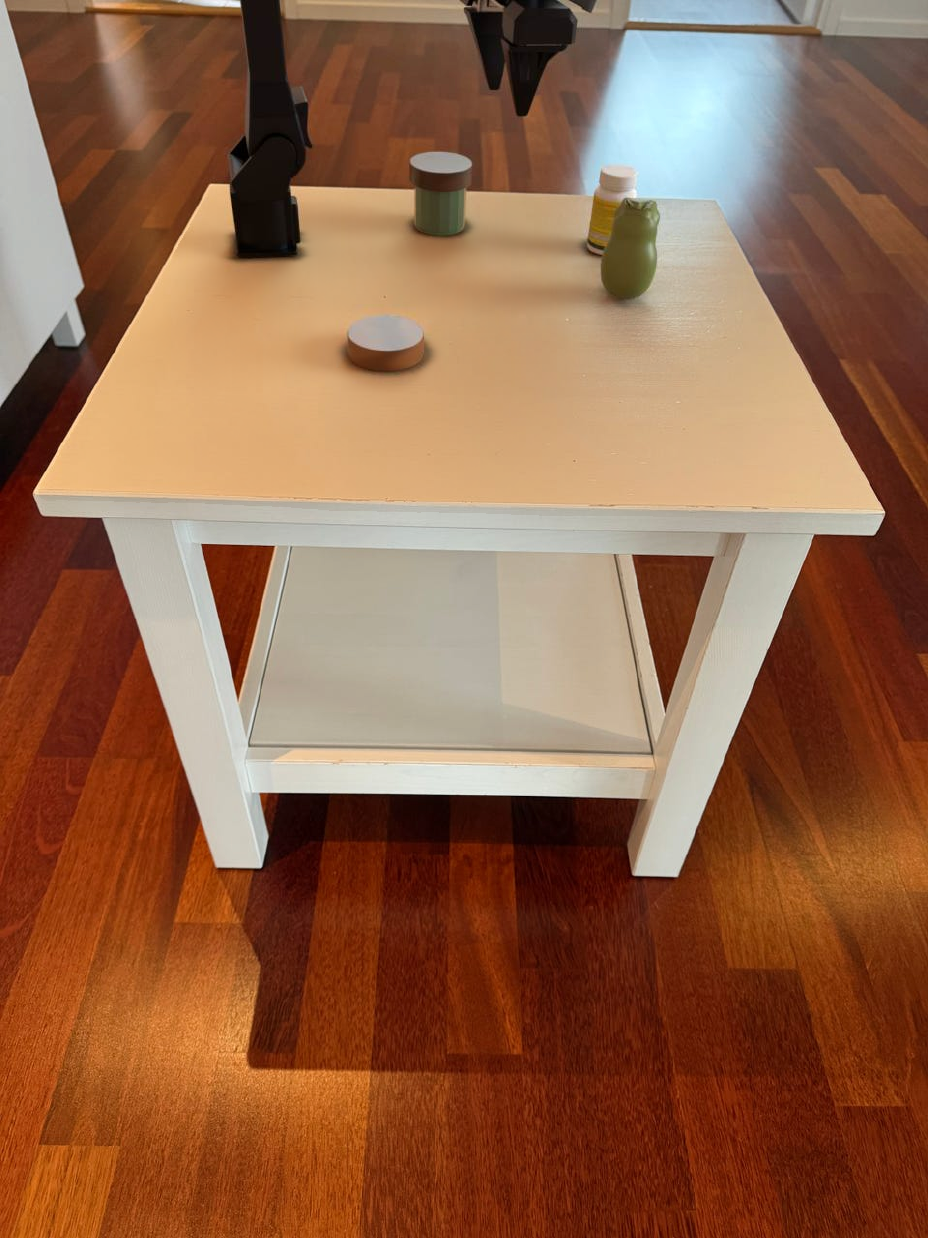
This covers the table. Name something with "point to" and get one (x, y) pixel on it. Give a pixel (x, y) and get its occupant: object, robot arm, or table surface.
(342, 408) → the table surface
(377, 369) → the teak chip
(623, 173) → the supplement bottle
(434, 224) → the plastic cup
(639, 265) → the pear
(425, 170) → the walnut chip
